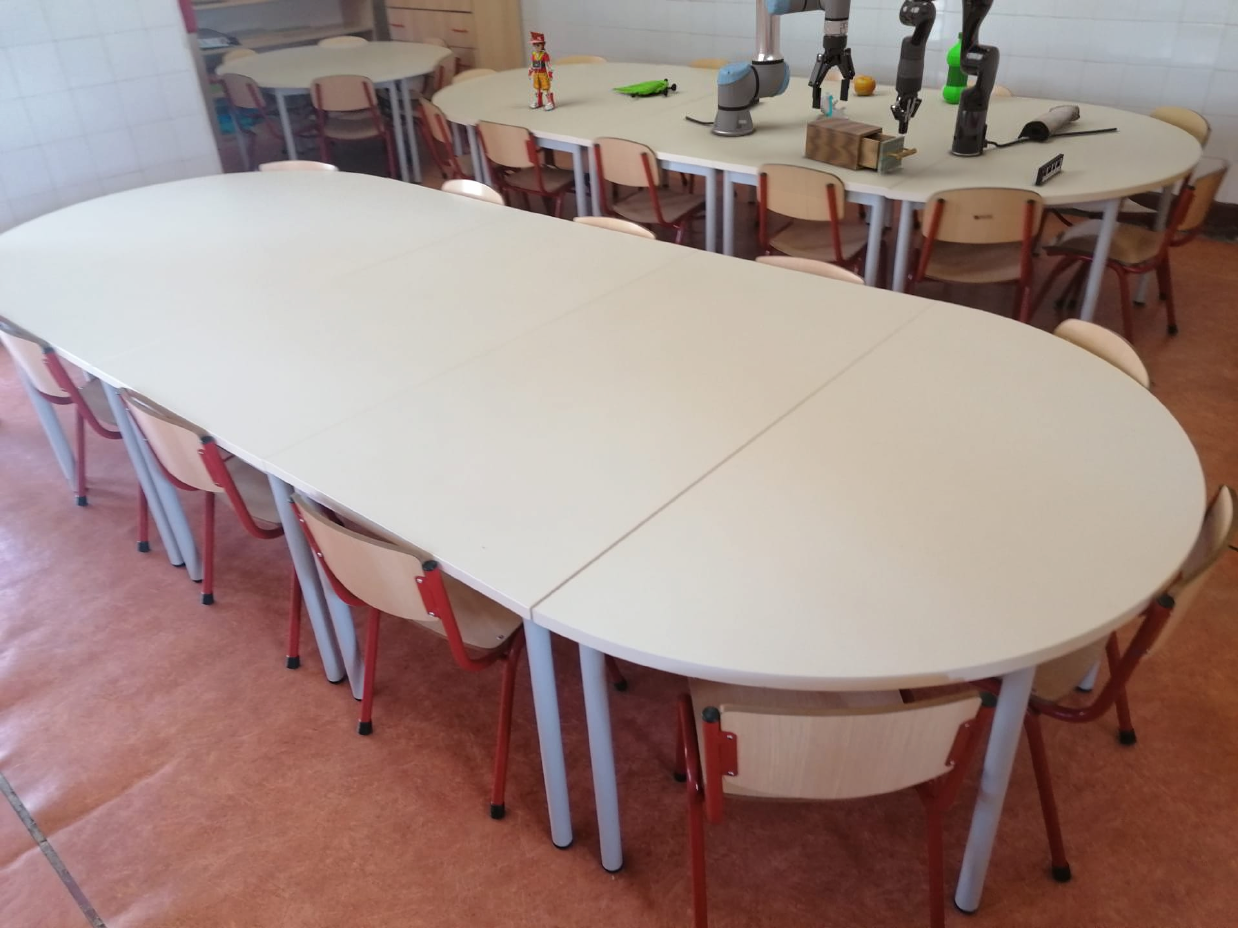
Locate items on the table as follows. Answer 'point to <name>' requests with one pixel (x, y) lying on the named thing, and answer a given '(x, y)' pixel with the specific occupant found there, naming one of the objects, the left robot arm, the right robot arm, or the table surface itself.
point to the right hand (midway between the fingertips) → (902, 133)
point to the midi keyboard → (1049, 169)
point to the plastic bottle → (954, 75)
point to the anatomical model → (831, 107)
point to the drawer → (883, 151)
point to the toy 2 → (648, 88)
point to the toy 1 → (541, 71)
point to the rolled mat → (1049, 122)
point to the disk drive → (753, 102)
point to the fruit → (864, 85)
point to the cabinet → (837, 141)
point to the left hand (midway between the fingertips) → (830, 104)
